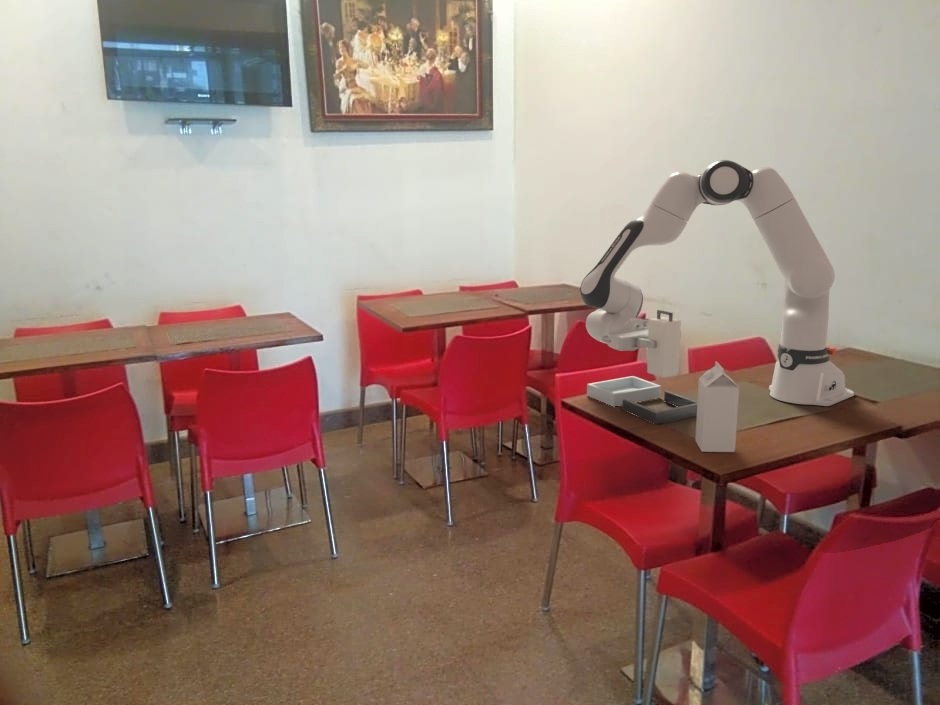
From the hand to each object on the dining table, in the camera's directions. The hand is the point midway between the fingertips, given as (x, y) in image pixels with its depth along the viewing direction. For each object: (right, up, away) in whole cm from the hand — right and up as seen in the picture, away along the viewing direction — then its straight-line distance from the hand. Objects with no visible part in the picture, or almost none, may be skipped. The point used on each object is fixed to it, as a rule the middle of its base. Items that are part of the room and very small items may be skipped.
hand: (664, 343), depth 181 cm
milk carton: (+6, -24, -20) cm, 31 cm away
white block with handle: (0, -8, +2) cm, 8 cm away
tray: (-7, -15, +18) cm, 24 cm away
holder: (0, -18, +5) cm, 18 cm away
